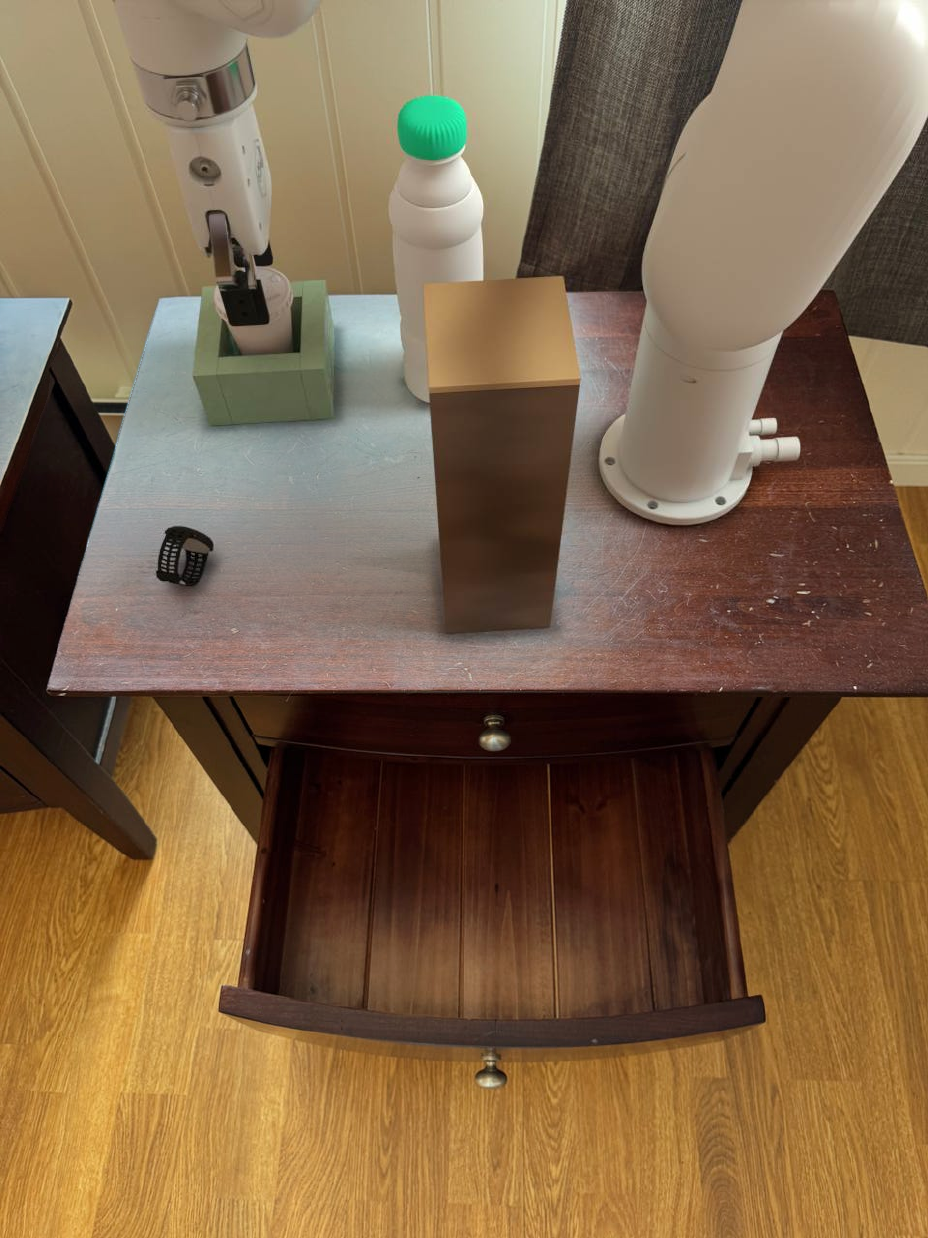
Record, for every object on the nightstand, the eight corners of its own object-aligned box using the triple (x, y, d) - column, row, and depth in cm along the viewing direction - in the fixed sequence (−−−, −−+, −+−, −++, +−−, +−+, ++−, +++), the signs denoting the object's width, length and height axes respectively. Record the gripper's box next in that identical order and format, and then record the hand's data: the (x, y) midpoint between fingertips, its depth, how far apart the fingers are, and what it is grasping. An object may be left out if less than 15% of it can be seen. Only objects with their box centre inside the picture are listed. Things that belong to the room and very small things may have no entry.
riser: (539, 541, 76) (563, 275, 54) (550, 627, 72) (581, 378, 50) (440, 547, 76) (422, 283, 54) (445, 634, 72) (428, 387, 50)
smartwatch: (229, 565, 76) (214, 528, 71) (184, 611, 74) (165, 575, 69) (192, 541, 77) (174, 503, 73) (146, 585, 75) (125, 548, 70)
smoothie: (298, 408, 84) (267, 278, 72) (229, 398, 85) (187, 268, 73) (318, 356, 87) (291, 224, 75) (251, 347, 88) (214, 215, 76)
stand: (334, 331, 89) (325, 279, 84) (333, 418, 83) (324, 368, 78) (218, 338, 89) (202, 286, 84) (210, 425, 83) (192, 375, 78)
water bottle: (481, 350, 87) (481, 77, 66) (485, 407, 84) (486, 139, 62) (404, 353, 87) (379, 81, 66) (405, 410, 84) (378, 143, 62)
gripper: (246, 149, 58) (295, 366, 74) (259, 0, 67) (301, 222, 82) (122, 156, 58) (198, 372, 73) (152, 5, 67) (214, 227, 82)
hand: (252, 291), depth 78 cm, fingers closed on smoothie, 6 cm apart
